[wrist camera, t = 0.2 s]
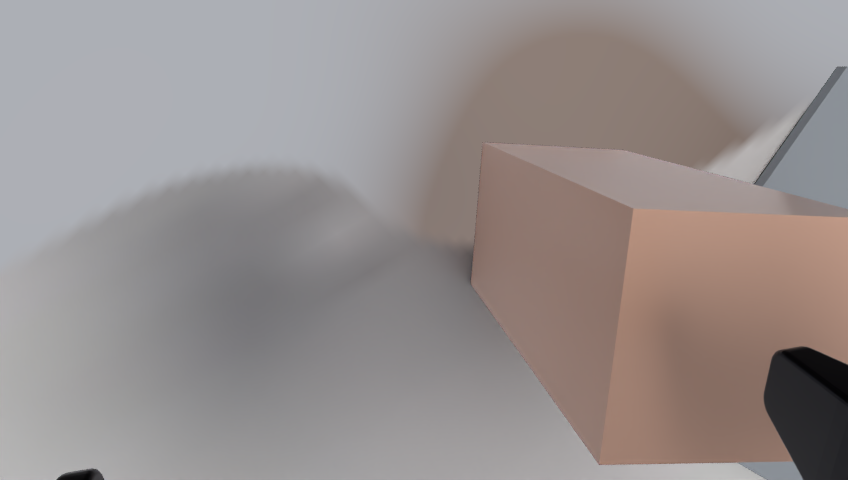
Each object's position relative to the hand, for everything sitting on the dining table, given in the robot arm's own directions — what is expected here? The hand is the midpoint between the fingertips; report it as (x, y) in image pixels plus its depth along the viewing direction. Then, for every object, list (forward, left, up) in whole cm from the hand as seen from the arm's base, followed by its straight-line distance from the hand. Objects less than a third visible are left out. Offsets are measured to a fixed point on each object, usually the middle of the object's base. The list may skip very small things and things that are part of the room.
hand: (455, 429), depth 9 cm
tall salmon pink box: (+3, -5, -15) cm, 16 cm away
